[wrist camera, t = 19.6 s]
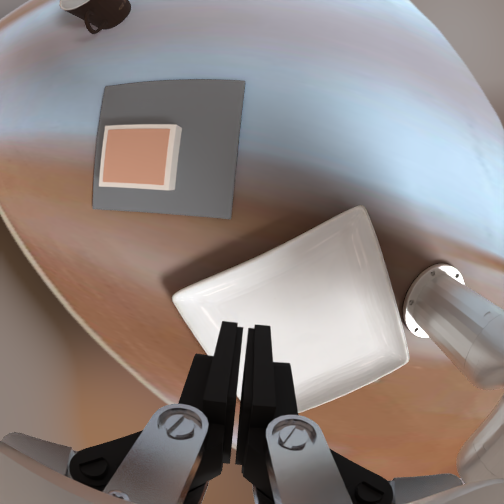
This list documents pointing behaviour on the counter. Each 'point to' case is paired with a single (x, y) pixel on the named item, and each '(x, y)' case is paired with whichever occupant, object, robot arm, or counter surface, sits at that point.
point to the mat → (191, 144)
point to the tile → (140, 156)
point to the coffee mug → (98, 12)
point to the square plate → (310, 308)
